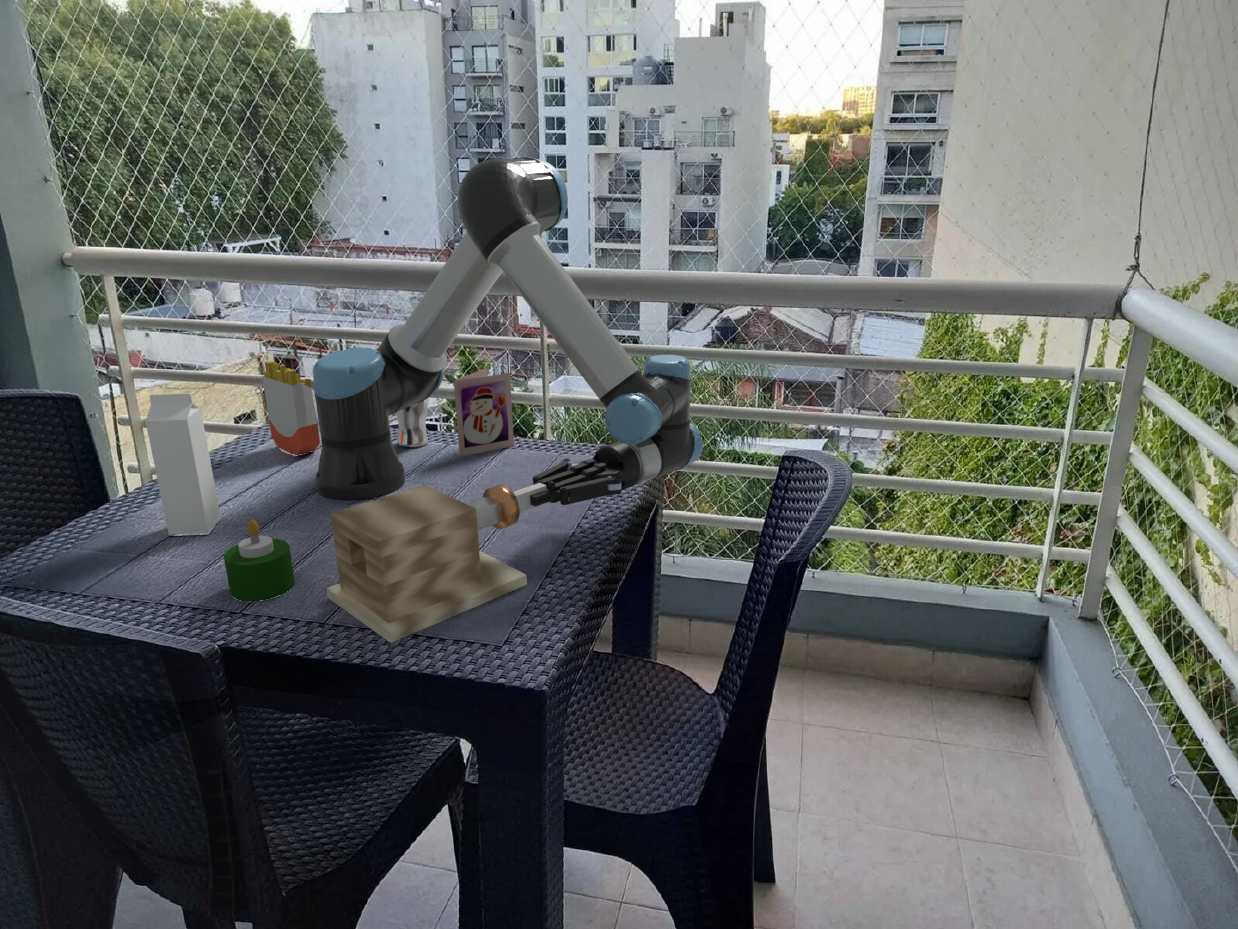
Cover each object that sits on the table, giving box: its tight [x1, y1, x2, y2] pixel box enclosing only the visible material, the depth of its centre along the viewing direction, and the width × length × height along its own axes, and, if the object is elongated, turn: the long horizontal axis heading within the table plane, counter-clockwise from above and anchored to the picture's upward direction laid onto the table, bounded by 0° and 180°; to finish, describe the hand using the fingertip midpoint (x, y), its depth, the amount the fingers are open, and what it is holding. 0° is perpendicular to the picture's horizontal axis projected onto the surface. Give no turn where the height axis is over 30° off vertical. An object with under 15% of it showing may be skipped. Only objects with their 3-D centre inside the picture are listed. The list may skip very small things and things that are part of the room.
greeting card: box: [453, 367, 515, 457], centre depth 172 cm, size 11×7×15 cm, turn 120°
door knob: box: [465, 484, 521, 531], centre depth 119 cm, size 16×6×6 cm, turn 134°
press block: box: [326, 484, 528, 644], centre depth 116 cm, size 21×16×12 cm
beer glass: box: [396, 397, 430, 448], centre depth 175 cm, size 7×7×15 cm
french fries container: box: [261, 360, 321, 455], centre depth 170 cm, size 5×11×18 cm, turn 50°
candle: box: [223, 519, 296, 602], centre depth 118 cm, size 8×8×10 cm
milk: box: [145, 393, 222, 535], centre depth 135 cm, size 6×6×22 cm
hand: (508, 505), depth 124 cm, fingers closed
